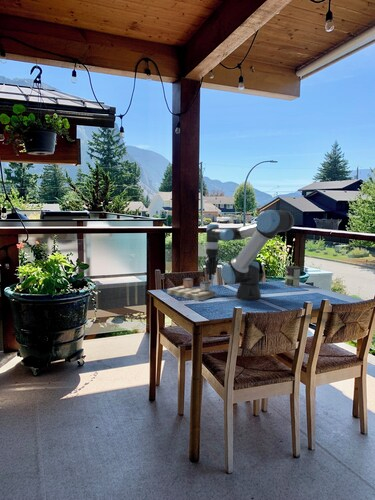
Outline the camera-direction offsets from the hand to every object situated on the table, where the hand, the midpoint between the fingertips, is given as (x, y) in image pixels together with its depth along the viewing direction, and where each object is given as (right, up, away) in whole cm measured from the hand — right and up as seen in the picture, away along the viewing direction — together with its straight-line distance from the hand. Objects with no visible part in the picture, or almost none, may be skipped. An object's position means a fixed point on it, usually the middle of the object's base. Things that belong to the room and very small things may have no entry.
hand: (210, 284), depth 237 cm
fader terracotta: (-15, -2, +4) cm, 15 cm away
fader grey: (-4, -3, -5) cm, 7 cm away
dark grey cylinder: (+30, -4, +29) cm, 41 cm away
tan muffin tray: (-13, -6, -4) cm, 15 cm away
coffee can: (+61, -4, +31) cm, 69 cm away
